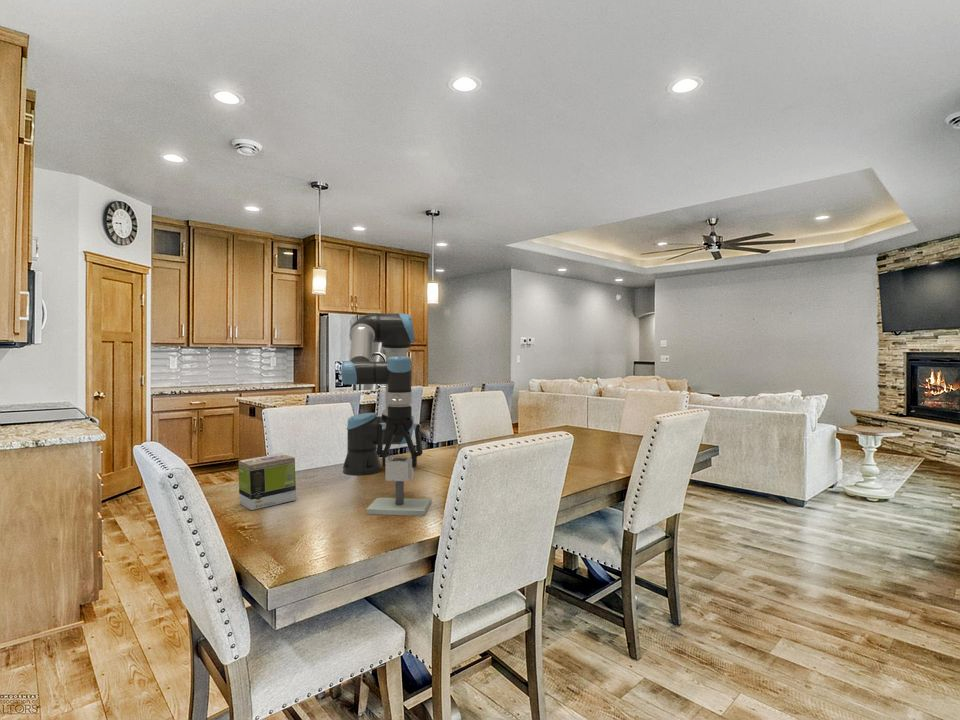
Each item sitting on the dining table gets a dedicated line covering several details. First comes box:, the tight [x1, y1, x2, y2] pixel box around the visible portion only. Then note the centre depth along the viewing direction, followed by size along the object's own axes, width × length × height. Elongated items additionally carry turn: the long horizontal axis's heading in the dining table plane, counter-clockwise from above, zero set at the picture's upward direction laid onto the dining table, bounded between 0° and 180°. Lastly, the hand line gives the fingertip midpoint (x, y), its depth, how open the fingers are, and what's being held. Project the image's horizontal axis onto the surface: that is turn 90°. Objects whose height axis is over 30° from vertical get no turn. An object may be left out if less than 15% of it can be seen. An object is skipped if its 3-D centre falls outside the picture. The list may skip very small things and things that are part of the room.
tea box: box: [238, 452, 297, 511], centre depth 171 cm, size 15×10×15 cm
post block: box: [365, 481, 432, 517], centre depth 165 cm, size 12×18×12 cm, turn 85°
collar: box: [385, 456, 411, 482], centre depth 165 cm, size 7×7×6 cm
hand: (399, 477), depth 165 cm, fingers closed on collar, 7 cm apart
